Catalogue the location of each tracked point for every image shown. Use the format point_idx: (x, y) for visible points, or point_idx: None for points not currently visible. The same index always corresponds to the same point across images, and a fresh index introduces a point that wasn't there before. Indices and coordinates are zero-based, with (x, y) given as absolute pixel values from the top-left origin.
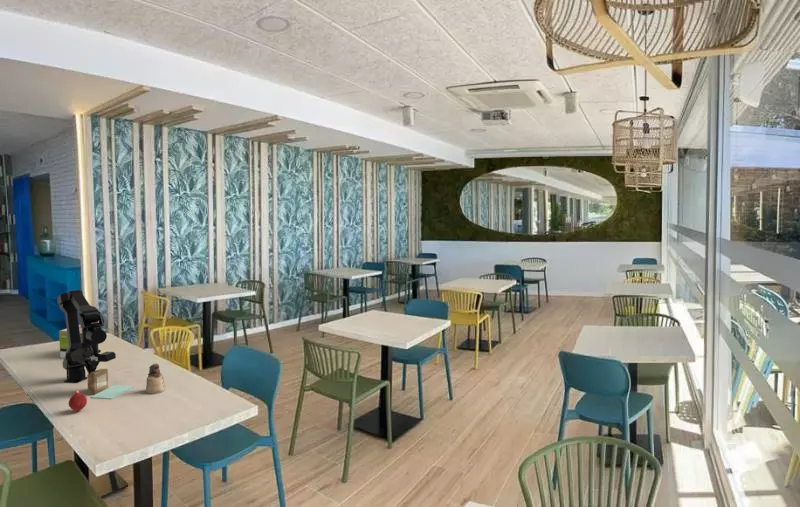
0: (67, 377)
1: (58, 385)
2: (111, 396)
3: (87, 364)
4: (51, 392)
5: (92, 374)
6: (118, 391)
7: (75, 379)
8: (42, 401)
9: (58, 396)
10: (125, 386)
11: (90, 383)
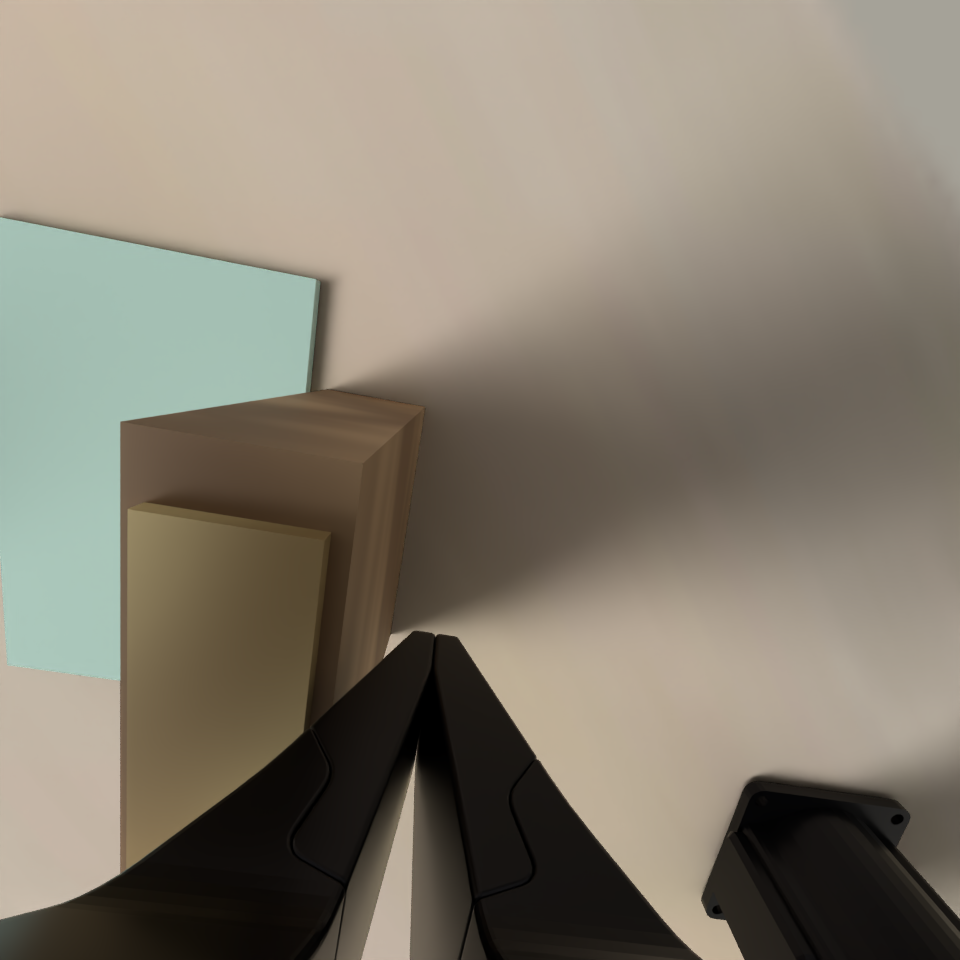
0: (910, 870)
1: (918, 714)
2: (26, 287)
3: (474, 948)
4: (914, 500)
5: (210, 471)
6: (66, 484)
7: (796, 831)
8: (908, 161)
9: (774, 355)
10: (102, 657)
11: (342, 415)
